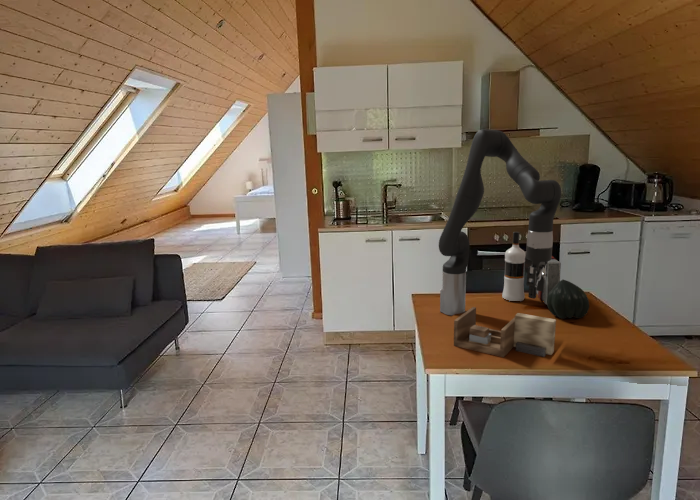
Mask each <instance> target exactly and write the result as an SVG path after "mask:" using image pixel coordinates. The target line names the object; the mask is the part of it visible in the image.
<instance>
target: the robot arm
mask: <svg viewBox="0 0 700 500" xmlns="http://www.w3.org/2000/svg"><path fill="white" fill-rule="evenodd" d="M486 157H491V158H495V157H496V158H499V159H500V160H501V161H504V163H505V167H506V173H507V174H508V175H509V177H510V178H511V180H513V181H514V182H515V183H516V184H517V185H518V186H519V188H520V191H521V193H522V194H523V197H524V199H525V200H526V201H527V202H529V203H531V204H534V205H540V206H539V208H538V209H537V210H533V211H532V212H530V214H529V216H528V230H527V236H526V249H525V250H526V251H525V254H526V256H525V259H526V260H528V261H530V262H531V265H530V266H528V267H527V272H526V273H527V274H526V286H527V287H528V298H529V299H536V298H537V291H543V290H544V281H545V279H546V277H547V270H548V261H550V260H551V259H552V256H553V242H554V236H553V234H554V233H553V232H554V231H553V230H554V219H555V218H554V217H555V215H556V213H557V209H558V206H559V204H560V201H561V198H562V187H561V185H560V183H559V182H558V181H557V180H555V179H545V180H540V178H541V175H540V172H539V171H538V169H536V168H535V167H534V166H533V165H532V164H531V163H529V162H528V161H527V160H526V159H525V158H524V157H523V156H522V154H521V153H520V152H519V151H518V149H517V147H515V145H514V144H513V142H512V141H511V139H510V138H509V137H508V135H507V134H506V133H504V131H501V130H499V129H498V130H497V129H485V128H482V129H479V130H477V132H476V133H475V134H474V137H473V139H472V142H471V145H470V149H469V154H468V158H467V162H466V166H465V170H464V172H463V176H462V179H461V182H460V185H459V187H458V190H457V192H456V196H455V199H454V202H453V205H452V208H451V211H450V214H449V217H448V218H447V221H446V223H445V226H444V228H443V230H442V232H441V235H440V237H439V238H438V239H439V240H438V250H439V252H440V254H441V255H442V256H444V257H449V259H448V260H447V261H446V262H444V263H443V264H442V285H441V286H442V288H441V289H440V294H439V296H440V297H439V312H440V313H443V314H445V315H448V316H454V315H457V314H458V315H459V314H464V313H465V312H466V293H467V292H466V289H467V288H466V287H467V286H466V285H467V267H468V265H469V258H470V240H469V236H468V235H467V233H466V232H464V231H462V230H463V229H464V227H465V225H466V224H467V222H469V221H470V219H471V218H472V217H473V216H474V214H475V213H476V212H477V211H478V209H479V208H480V205H481V202H482V200H483V196H484V193H485V187H484V182H483V178H482V171H481V170H482V165H483V162H484V159H485V158H486Z"/></svg>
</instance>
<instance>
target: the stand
mask: <svg viewBox="0 0 700 500" xmlns="http://www.w3.org/2000/svg"><path fill="white" fill-rule="evenodd" d="M515 351H516V352H520V353H524V354H528V355H532V356H537V357H543V358H545V357H546V355H547V354H546V348H545V347H541V346H536V345H531V344H526V343H522V342H517V343H516V347H515Z"/></svg>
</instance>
